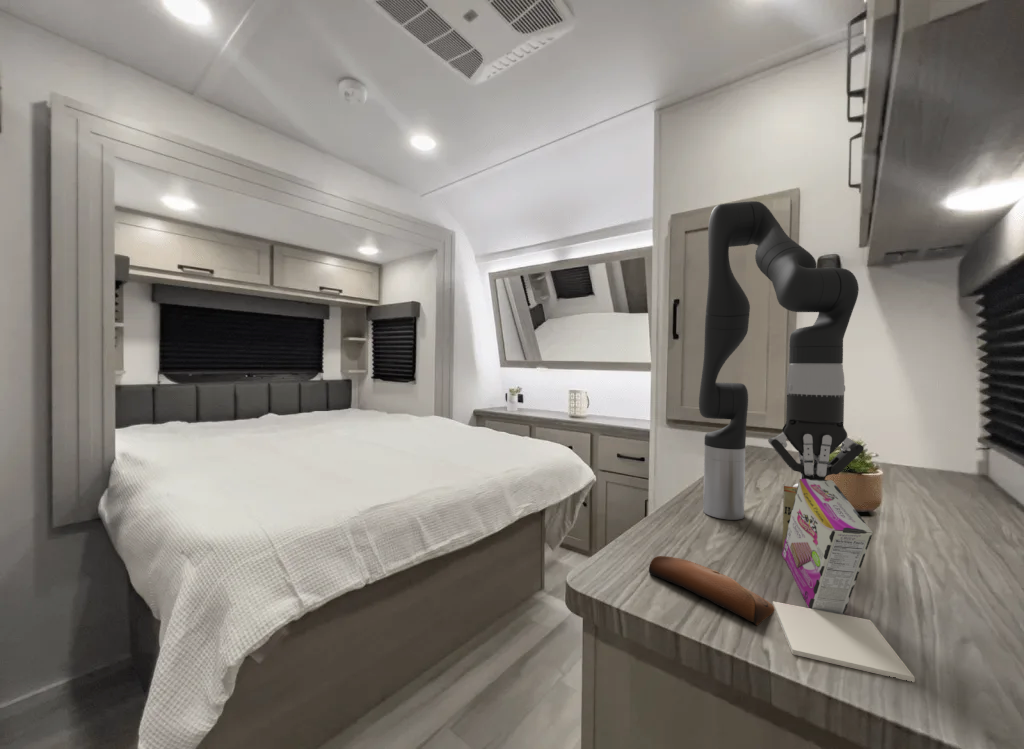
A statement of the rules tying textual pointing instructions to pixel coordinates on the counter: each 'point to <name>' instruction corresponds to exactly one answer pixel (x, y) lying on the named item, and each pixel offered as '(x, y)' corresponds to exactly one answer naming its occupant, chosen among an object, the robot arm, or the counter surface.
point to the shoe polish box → (787, 507)
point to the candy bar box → (825, 545)
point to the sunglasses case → (712, 587)
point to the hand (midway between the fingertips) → (812, 498)
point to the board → (839, 640)
